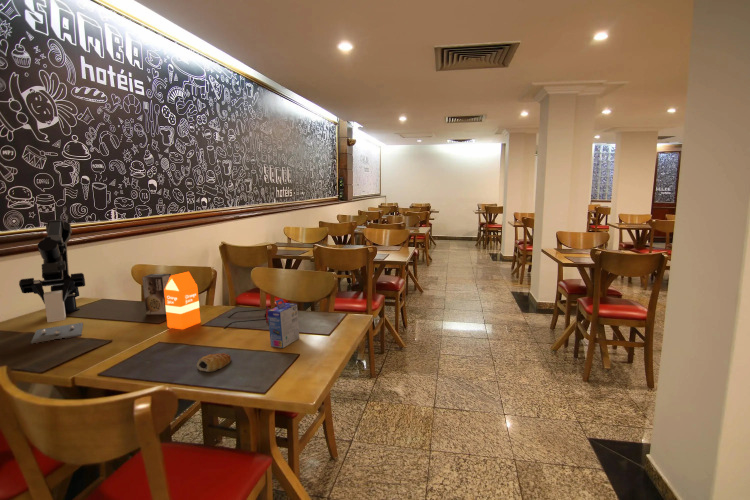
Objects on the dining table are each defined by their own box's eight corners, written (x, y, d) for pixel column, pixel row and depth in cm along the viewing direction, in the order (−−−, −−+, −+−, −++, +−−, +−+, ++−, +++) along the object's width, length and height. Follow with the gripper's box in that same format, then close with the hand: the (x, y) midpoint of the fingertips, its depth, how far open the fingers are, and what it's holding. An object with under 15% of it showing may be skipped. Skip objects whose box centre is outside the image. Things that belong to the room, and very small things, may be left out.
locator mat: (37, 331, 153) (36, 329, 152) (83, 324, 160) (82, 322, 160) (30, 344, 139) (30, 342, 139) (81, 335, 147) (81, 334, 147)
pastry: (221, 358, 126) (220, 346, 125) (237, 362, 122) (236, 350, 122) (194, 369, 118) (193, 357, 117) (210, 374, 114) (209, 361, 114)
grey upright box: (175, 310, 177) (171, 273, 174) (166, 314, 170) (162, 276, 168) (155, 309, 178) (151, 273, 175) (145, 314, 171) (141, 276, 169)
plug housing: (48, 318, 150) (45, 292, 148) (65, 316, 153) (62, 290, 151) (47, 322, 146) (43, 295, 144) (64, 319, 148) (61, 292, 147)
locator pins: (42, 334, 148) (41, 330, 147) (74, 328, 153) (74, 325, 152) (40, 338, 143) (39, 334, 143) (73, 332, 148) (73, 328, 148)
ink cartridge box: (286, 336, 143) (284, 295, 141) (300, 338, 141) (298, 297, 139) (269, 346, 134) (266, 303, 132) (283, 348, 132) (281, 304, 130)
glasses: (269, 325, 155) (268, 313, 155) (223, 329, 152) (222, 316, 151) (270, 315, 169) (269, 303, 168) (227, 318, 165) (226, 306, 164)
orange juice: (167, 327, 155) (162, 275, 152) (185, 320, 163) (181, 270, 160) (182, 329, 152) (178, 276, 149) (201, 322, 160) (196, 271, 157)
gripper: (15, 256, 144) (15, 294, 137) (80, 251, 155) (83, 285, 147) (22, 275, 152) (22, 311, 145) (84, 269, 162) (86, 302, 155)
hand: (54, 302), depth 148 cm, fingers closed on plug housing, 5 cm apart
